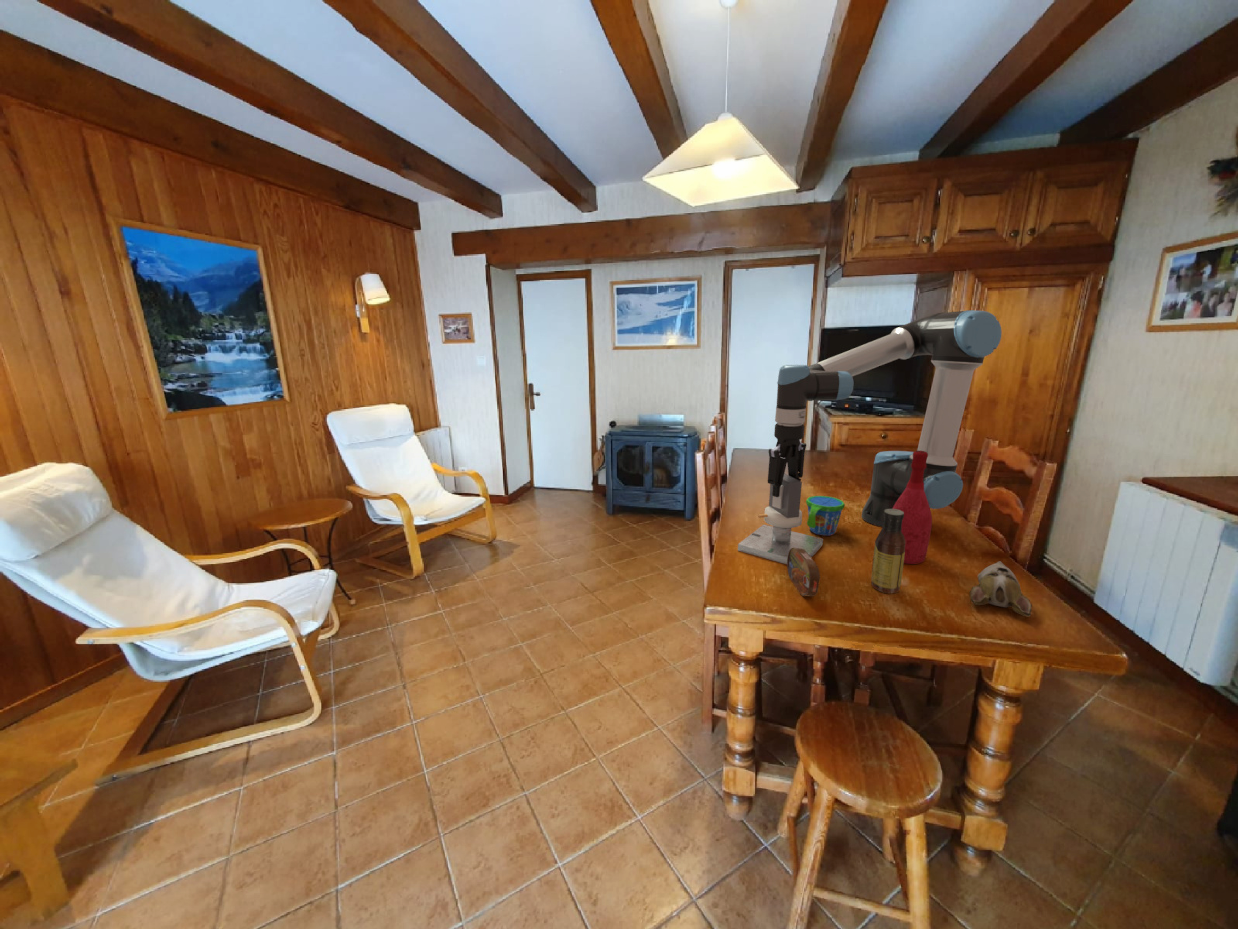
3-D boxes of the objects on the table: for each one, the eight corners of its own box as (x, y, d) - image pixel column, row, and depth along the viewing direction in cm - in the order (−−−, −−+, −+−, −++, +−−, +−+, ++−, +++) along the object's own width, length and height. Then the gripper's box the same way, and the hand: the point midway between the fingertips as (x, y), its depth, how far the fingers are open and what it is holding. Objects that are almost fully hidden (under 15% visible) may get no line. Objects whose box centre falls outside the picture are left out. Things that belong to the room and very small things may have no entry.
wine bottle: (890, 546, 134) (904, 445, 126) (930, 557, 127) (948, 450, 119) (878, 558, 127) (893, 451, 119) (920, 569, 120) (938, 457, 113)
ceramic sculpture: (1031, 560, 106) (1039, 593, 94) (1023, 593, 109) (1030, 629, 97) (972, 549, 112) (974, 579, 100) (967, 581, 114) (967, 613, 103)
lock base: (822, 545, 136) (825, 519, 134) (801, 568, 122) (804, 540, 120) (763, 530, 147) (764, 506, 145) (737, 550, 133) (739, 524, 131)
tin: (785, 571, 121) (787, 541, 119) (797, 571, 121) (800, 541, 119) (805, 603, 107) (809, 570, 104) (819, 603, 106) (823, 570, 104)
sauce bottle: (883, 579, 116) (894, 504, 111) (906, 592, 110) (918, 513, 105) (863, 584, 114) (873, 508, 109) (884, 597, 108) (896, 517, 103)
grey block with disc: (789, 513, 138) (792, 471, 135) (808, 526, 129) (812, 481, 125) (750, 517, 136) (752, 474, 132) (766, 530, 126) (770, 484, 123)
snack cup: (822, 520, 153) (825, 491, 151) (852, 531, 145) (856, 500, 142) (791, 532, 145) (794, 501, 142) (822, 543, 137) (825, 511, 134)
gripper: (780, 429, 117) (774, 516, 123) (822, 421, 127) (814, 501, 133) (756, 425, 123) (751, 508, 129) (798, 417, 133) (791, 494, 139)
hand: (783, 504), depth 131 cm, fingers closed on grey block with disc, 5 cm apart
